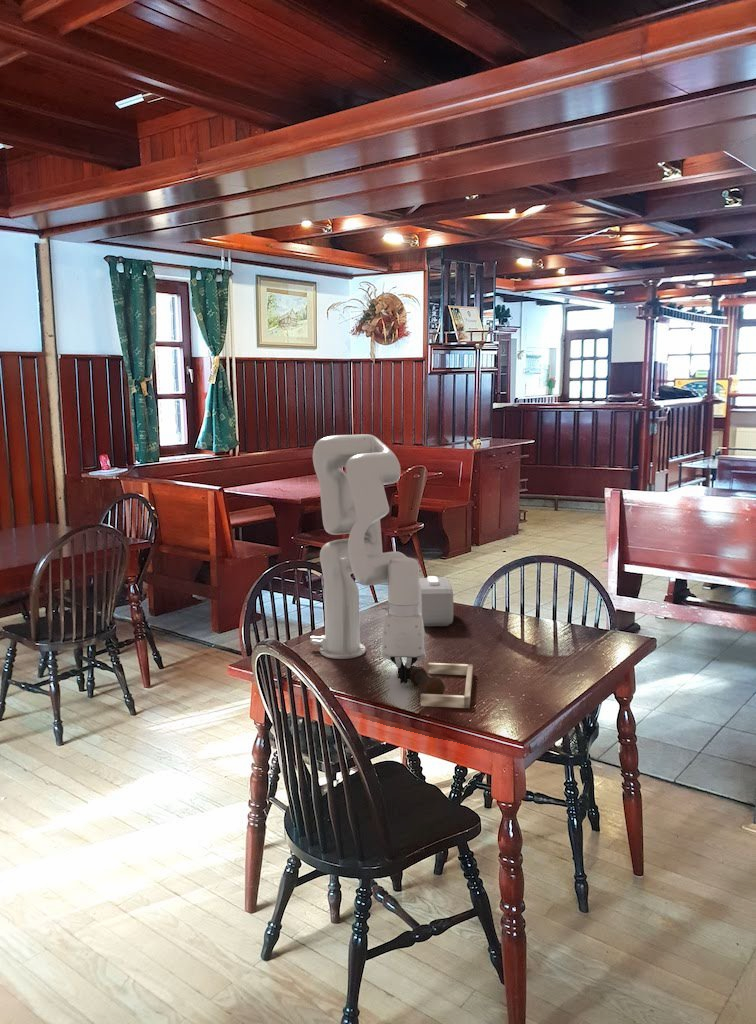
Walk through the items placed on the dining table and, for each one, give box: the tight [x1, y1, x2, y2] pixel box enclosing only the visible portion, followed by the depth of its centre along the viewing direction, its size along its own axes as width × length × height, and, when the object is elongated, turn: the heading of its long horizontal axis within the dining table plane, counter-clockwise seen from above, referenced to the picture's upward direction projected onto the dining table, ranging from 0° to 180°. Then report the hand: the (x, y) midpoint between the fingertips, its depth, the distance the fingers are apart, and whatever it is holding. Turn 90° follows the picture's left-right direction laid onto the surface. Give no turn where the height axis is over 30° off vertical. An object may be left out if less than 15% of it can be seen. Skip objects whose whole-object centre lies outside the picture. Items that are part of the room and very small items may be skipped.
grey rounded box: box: [419, 575, 454, 627], centre depth 254 cm, size 21×10×13 cm, turn 1°
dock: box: [420, 662, 474, 709], centre depth 198 cm, size 11×22×2 cm, turn 172°
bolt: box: [408, 665, 446, 695], centre depth 199 cm, size 6×5×15 cm
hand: (404, 681), depth 200 cm, fingers closed
